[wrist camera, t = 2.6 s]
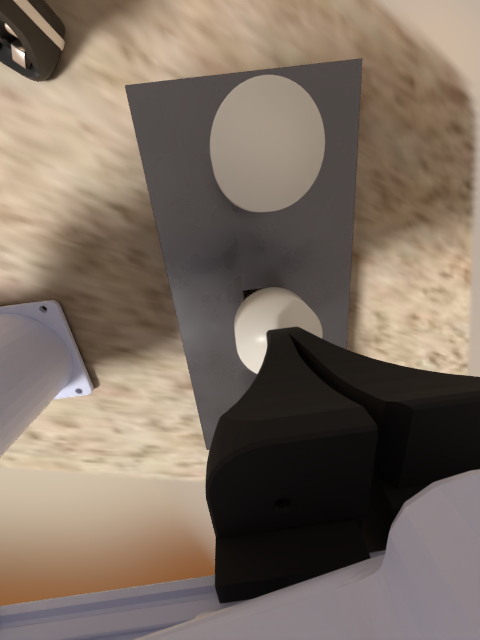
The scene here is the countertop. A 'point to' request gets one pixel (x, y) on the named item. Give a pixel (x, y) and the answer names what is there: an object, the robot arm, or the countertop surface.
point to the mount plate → (245, 221)
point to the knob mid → (269, 322)
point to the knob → (266, 143)
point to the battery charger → (30, 37)
